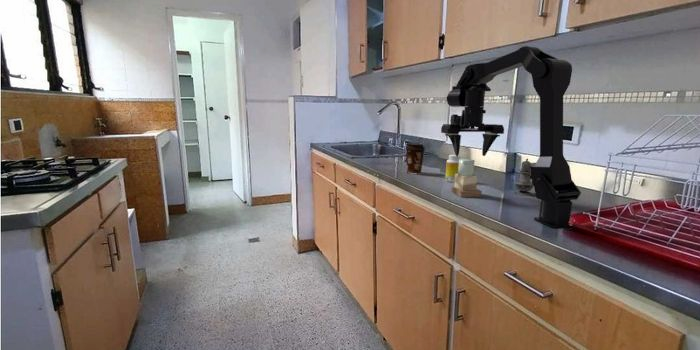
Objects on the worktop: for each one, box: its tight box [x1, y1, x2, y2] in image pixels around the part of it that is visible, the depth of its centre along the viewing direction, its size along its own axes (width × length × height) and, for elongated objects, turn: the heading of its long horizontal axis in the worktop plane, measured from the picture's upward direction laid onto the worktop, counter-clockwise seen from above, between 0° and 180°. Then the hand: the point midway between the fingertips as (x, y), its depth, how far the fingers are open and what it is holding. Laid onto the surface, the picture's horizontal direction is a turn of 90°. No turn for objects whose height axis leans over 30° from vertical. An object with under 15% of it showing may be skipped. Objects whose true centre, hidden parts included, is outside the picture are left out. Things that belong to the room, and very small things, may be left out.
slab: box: [450, 186, 483, 198], centre depth 111 cm, size 7×7×2 cm
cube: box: [453, 174, 478, 190], centre depth 111 cm, size 5×5×4 cm
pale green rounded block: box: [458, 158, 475, 176], centre depth 110 cm, size 5×5×5 cm
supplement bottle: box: [445, 154, 461, 183], centre depth 131 cm, size 6×6×10 cm
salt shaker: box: [514, 158, 534, 197], centre depth 112 cm, size 6×6×12 cm
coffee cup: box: [405, 142, 426, 175], centre depth 147 cm, size 9×8×13 cm
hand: (470, 155), depth 109 cm, fingers open, 9 cm apart
